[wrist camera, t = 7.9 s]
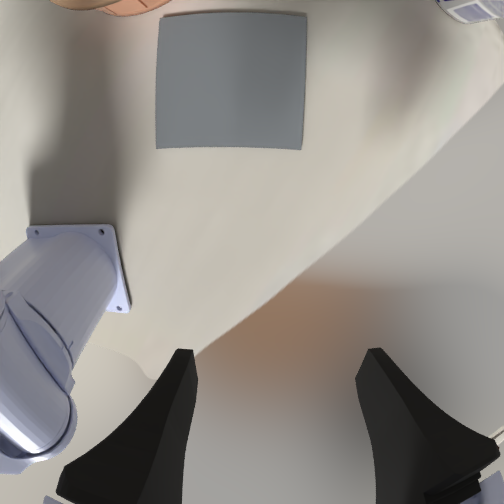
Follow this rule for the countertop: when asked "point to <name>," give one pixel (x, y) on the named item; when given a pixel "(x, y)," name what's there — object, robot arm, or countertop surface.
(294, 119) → the mat
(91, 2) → the lid
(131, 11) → the bowl
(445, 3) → the energy drink
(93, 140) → the countertop surface
